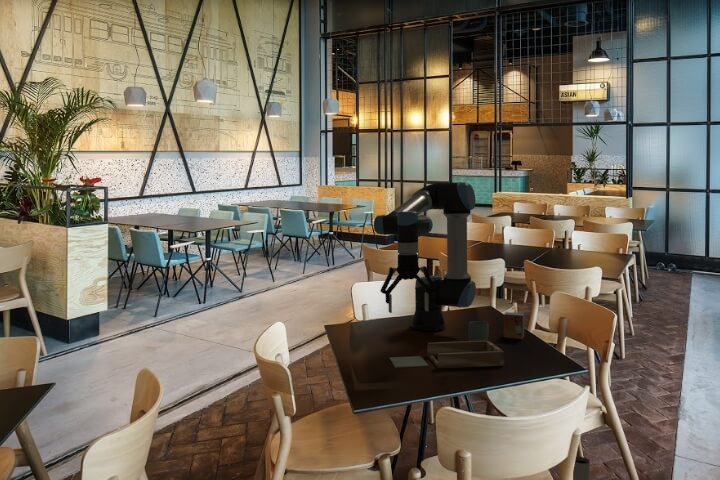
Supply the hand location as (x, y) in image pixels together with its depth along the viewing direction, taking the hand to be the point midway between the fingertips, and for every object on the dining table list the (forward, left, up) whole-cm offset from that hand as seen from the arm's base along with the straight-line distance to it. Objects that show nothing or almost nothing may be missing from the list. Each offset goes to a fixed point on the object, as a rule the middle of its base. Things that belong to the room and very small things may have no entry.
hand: (408, 311), depth 217 cm
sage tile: (+1, 0, -19) cm, 19 cm away
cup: (-15, +32, -19) cm, 40 cm away
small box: (-28, +52, -19) cm, 62 cm away
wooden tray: (+2, +21, -19) cm, 28 cm away
